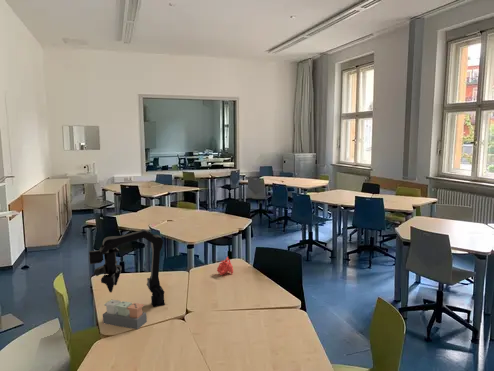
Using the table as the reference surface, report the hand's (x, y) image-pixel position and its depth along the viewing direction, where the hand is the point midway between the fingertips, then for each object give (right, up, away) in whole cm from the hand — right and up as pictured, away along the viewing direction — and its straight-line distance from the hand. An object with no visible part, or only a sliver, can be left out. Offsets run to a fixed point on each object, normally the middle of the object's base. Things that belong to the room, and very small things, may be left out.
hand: (113, 288), depth 202 cm
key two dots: (+9, -12, -10) cm, 18 cm away
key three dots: (+16, -12, -12) cm, 23 cm away
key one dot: (+3, -12, -7) cm, 14 cm away
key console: (+10, -15, -9) cm, 20 cm away
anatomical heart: (+57, -5, +56) cm, 81 cm away
